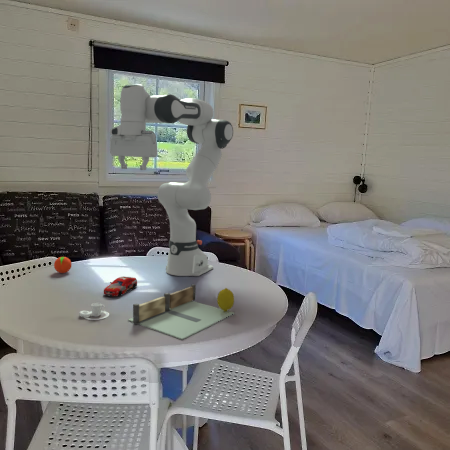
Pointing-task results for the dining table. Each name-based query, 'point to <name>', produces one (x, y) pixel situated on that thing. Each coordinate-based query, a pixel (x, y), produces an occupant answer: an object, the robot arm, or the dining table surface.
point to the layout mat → (185, 319)
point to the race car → (120, 286)
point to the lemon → (225, 299)
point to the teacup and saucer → (94, 312)
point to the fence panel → (182, 296)
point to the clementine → (62, 264)
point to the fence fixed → (151, 308)
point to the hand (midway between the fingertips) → (133, 169)
